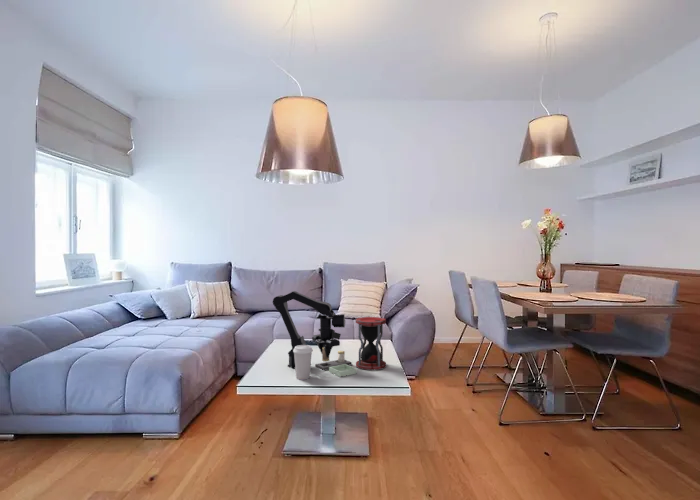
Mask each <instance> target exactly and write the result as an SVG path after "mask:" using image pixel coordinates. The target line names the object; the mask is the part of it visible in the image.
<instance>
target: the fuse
mask: <svg viewBox="0 0 700 500" xmlns="http://www.w3.org/2000/svg"><path fill="white" fill-rule="evenodd" d="M345 353H346V352H345V350H337V360H338V363H345V360H346V359H345V358H346V357H345Z"/></svg>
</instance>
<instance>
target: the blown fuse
mask: <svg viewBox="0 0 700 500" xmlns="http://www.w3.org/2000/svg"><path fill="white" fill-rule="evenodd" d="M321 357H322V358H321V361H322V362H330V356H329V357H328V358H327V357H326V353H325V350H324V347H322V353H321Z"/></svg>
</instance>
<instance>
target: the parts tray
mask: <svg viewBox="0 0 700 500" xmlns="http://www.w3.org/2000/svg"><path fill="white" fill-rule="evenodd" d="M328 373H330V374H333V375H334V374H335V376H337V377H339V378H341V376H343V377H346V375H347V376H352V375H356V374H357V367H353V366H352V365H347V364H342V365H337V366H332V367H329V369H328Z"/></svg>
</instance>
